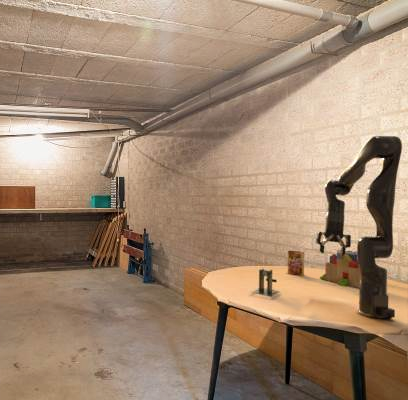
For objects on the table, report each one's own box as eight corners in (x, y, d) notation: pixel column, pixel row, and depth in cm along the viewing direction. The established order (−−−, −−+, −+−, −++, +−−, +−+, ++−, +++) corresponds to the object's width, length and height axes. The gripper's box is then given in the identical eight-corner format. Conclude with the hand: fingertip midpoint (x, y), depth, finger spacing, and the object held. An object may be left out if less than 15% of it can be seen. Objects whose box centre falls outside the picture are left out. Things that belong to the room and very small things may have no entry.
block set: (315, 279, 210) (316, 247, 210) (331, 277, 215) (332, 246, 215) (363, 291, 184) (364, 255, 184) (381, 288, 189) (381, 253, 189)
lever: (266, 282, 183) (267, 277, 183) (276, 283, 179) (277, 279, 180) (259, 273, 175) (260, 269, 176) (269, 275, 171) (270, 270, 172)
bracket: (259, 290, 183) (260, 266, 183) (280, 294, 176) (280, 269, 176) (250, 295, 173) (251, 270, 173) (271, 299, 166) (272, 273, 166)
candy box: (287, 273, 226) (287, 250, 226) (289, 272, 229) (289, 249, 229) (302, 275, 219) (302, 252, 219) (304, 274, 222) (304, 251, 222)
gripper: (321, 219, 166) (318, 253, 165) (354, 222, 162) (352, 257, 161) (315, 219, 173) (313, 251, 172) (348, 223, 169) (345, 255, 169)
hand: (332, 254), depth 167 cm, fingers open, 8 cm apart
